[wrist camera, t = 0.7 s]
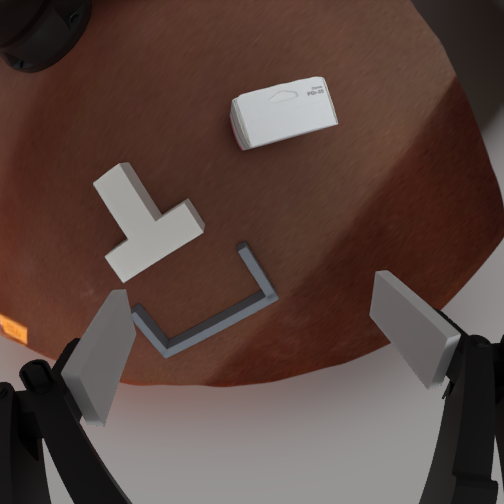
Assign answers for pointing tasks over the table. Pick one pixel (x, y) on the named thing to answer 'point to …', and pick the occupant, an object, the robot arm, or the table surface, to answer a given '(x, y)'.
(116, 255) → the t block
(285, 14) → the table surface
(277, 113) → the ink box
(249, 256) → the dock
